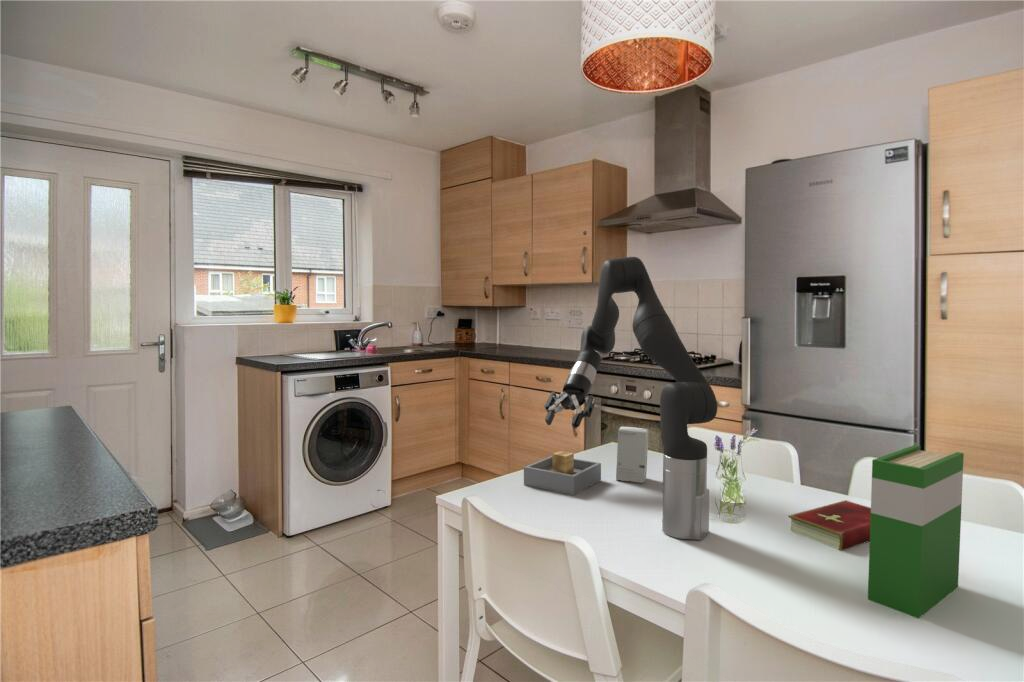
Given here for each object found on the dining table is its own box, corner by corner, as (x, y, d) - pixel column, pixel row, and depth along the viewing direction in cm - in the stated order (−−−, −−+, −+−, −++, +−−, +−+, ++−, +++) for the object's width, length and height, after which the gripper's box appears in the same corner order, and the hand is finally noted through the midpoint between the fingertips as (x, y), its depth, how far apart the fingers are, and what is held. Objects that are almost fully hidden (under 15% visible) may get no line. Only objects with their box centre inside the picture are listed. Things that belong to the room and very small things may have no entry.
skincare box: (615, 480, 163) (616, 429, 162) (619, 475, 169) (619, 425, 168) (645, 483, 160) (646, 431, 160) (648, 477, 166) (648, 427, 165)
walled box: (600, 480, 164) (601, 463, 164) (573, 495, 151) (574, 476, 150) (553, 471, 173) (553, 455, 173) (523, 484, 160) (523, 467, 160)
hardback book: (909, 571, 107) (914, 444, 105) (958, 586, 101) (963, 453, 99) (867, 599, 97) (872, 459, 95) (918, 618, 91) (924, 469, 89)
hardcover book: (898, 533, 126) (899, 514, 125) (841, 553, 116) (841, 533, 116) (844, 516, 136) (845, 499, 136) (788, 532, 126) (788, 514, 126)
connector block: (573, 480, 162) (573, 453, 162) (566, 484, 159) (566, 456, 158) (560, 478, 165) (560, 450, 164) (552, 482, 161) (552, 454, 161)
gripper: (554, 371, 170) (534, 414, 162) (597, 373, 162) (578, 419, 153) (563, 386, 175) (544, 430, 166) (606, 390, 167) (587, 435, 158)
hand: (560, 425), depth 160 cm, fingers open, 8 cm apart
